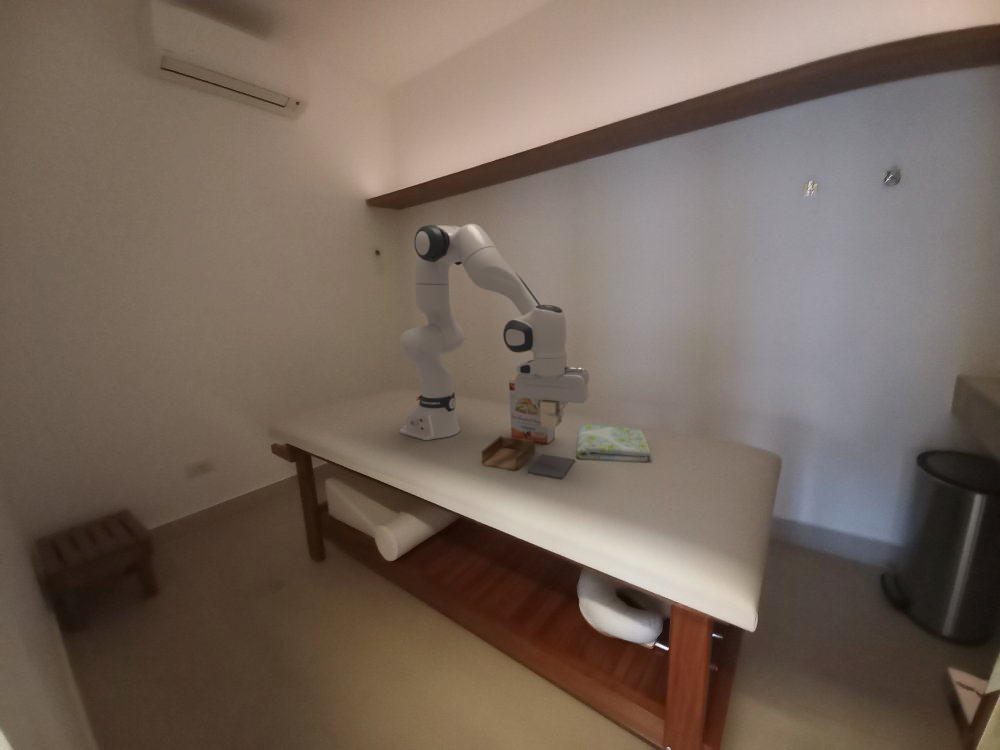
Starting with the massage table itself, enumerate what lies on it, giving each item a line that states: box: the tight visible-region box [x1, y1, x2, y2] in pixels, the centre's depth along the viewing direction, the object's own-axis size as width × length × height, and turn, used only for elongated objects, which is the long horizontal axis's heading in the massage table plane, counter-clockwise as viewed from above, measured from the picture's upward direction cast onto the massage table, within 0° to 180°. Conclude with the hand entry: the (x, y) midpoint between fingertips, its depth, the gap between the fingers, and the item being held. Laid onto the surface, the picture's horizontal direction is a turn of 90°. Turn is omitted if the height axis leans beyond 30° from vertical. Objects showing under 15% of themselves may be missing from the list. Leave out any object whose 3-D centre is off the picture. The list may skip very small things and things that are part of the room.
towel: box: [575, 423, 651, 463], centre depth 123 cm, size 18×21×5 cm
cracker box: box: [508, 376, 556, 445], centre depth 132 cm, size 14×6×21 cm, turn 57°
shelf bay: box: [481, 435, 536, 472], centre depth 120 cm, size 12×14×4 cm
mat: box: [527, 454, 576, 480], centre depth 113 cm, size 10×12×1 cm
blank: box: [540, 400, 563, 429], centre depth 109 cm, size 6×4×7 cm, turn 154°
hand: (551, 415), depth 110 cm, fingers closed on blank, 4 cm apart
